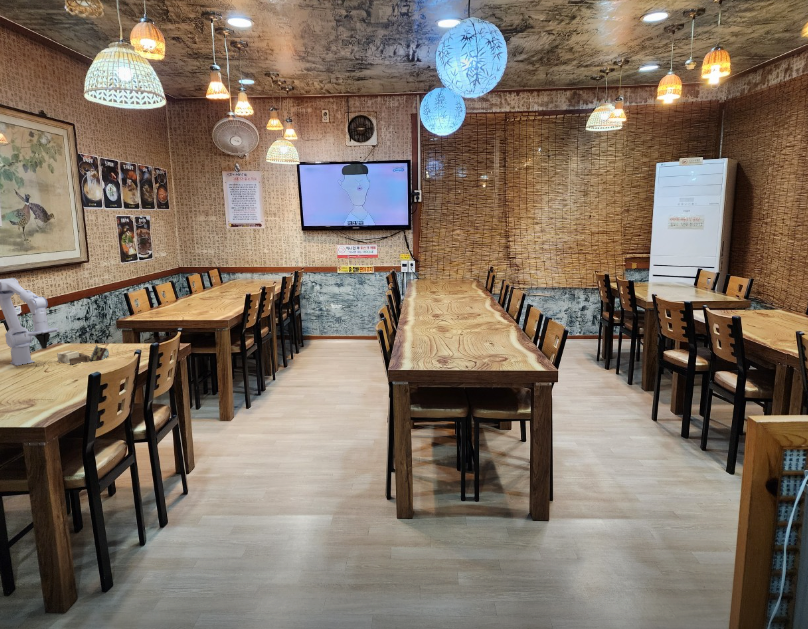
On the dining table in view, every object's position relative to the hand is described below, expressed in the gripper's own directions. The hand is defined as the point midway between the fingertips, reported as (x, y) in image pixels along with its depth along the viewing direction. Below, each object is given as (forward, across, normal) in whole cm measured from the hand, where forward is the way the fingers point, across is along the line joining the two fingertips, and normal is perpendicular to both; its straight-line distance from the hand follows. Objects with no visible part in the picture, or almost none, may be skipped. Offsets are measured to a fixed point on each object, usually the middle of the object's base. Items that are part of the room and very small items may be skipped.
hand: (44, 348), depth 259 cm
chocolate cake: (+10, +22, -7) cm, 25 cm away
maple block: (+10, +10, 0) cm, 14 cm away
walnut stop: (+9, +12, -1) cm, 15 cm away
